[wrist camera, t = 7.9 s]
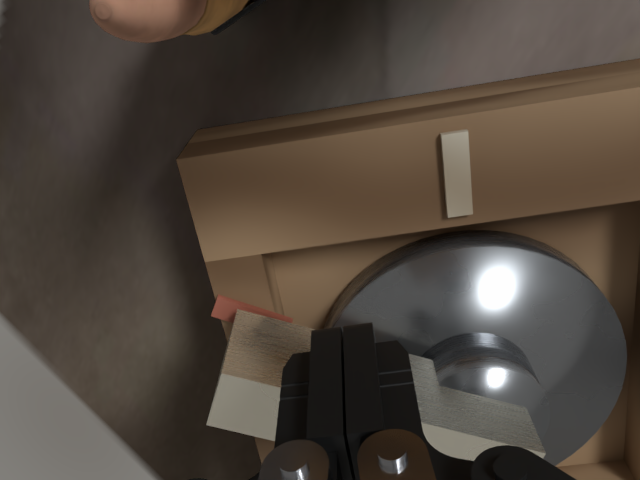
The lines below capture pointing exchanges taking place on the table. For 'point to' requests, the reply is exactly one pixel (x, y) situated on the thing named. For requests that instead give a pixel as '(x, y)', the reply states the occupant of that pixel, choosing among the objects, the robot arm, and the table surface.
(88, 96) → the table surface
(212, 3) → the ammunition clip
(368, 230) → the wooden tray
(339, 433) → the robot arm
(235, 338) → the dial
